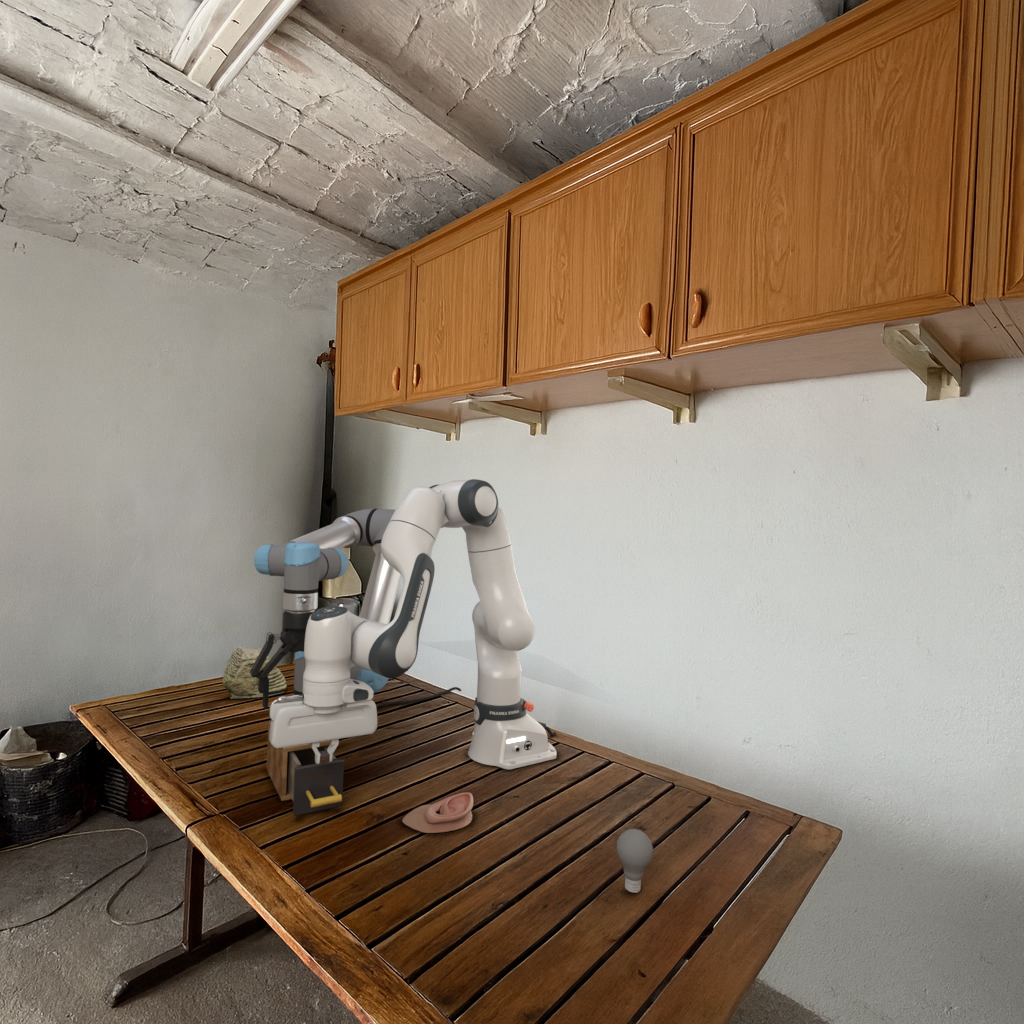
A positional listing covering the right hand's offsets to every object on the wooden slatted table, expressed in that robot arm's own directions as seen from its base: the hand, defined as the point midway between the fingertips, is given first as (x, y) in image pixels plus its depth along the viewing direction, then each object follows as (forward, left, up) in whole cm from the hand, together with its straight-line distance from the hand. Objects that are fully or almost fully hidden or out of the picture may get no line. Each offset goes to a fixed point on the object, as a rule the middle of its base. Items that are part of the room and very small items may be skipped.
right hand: (323, 762), depth 123 cm
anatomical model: (-22, +6, -12) cm, 26 cm away
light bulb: (-46, +39, -12) cm, 61 cm away
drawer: (+1, -8, -11) cm, 13 cm away
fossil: (+11, -86, -12) cm, 87 cm away
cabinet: (+3, -20, -12) cm, 24 cm away
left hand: (+3, -25, +4) cm, 25 cm away
